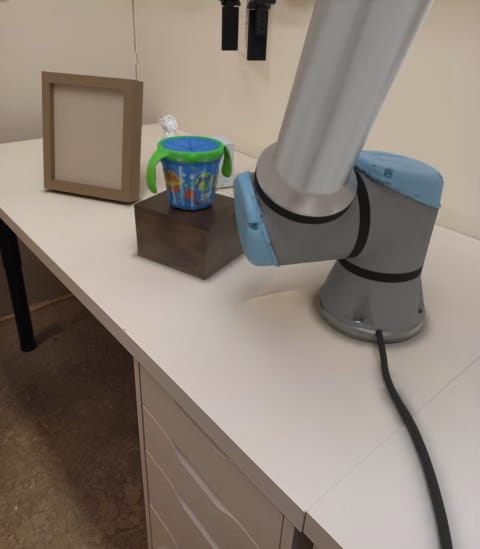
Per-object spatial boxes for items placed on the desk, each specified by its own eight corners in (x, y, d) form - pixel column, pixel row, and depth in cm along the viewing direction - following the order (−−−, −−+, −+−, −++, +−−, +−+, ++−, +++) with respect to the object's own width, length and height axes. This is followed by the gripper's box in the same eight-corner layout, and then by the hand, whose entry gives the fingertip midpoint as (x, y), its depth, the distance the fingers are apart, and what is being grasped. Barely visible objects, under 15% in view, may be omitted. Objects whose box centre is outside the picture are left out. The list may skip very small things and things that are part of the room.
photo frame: (129, 206, 102) (117, 83, 90) (44, 192, 108) (22, 74, 95) (160, 185, 114) (154, 73, 102) (83, 173, 120) (68, 66, 107)
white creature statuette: (173, 166, 127) (172, 120, 121) (148, 160, 131) (145, 115, 125) (194, 157, 134) (193, 114, 128) (169, 152, 138) (167, 109, 132)
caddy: (245, 250, 86) (247, 205, 82) (205, 280, 77) (205, 231, 73) (182, 230, 93) (180, 187, 88) (137, 255, 84) (133, 209, 79)
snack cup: (215, 186, 87) (215, 130, 82) (247, 205, 80) (250, 145, 75) (135, 201, 80) (130, 140, 75) (163, 224, 72) (159, 158, 67)
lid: (252, 207, 82) (252, 202, 81) (209, 232, 72) (209, 227, 72) (180, 187, 88) (180, 183, 88) (133, 208, 79) (133, 204, 79)
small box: (233, 187, 115) (234, 143, 110) (211, 189, 113) (211, 145, 108) (222, 176, 121) (223, 135, 116) (201, 178, 119) (201, 136, 114)
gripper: (312, -133, 55) (295, 65, 66) (244, -100, 75) (240, 47, 86) (251, -140, 53) (244, 65, 64) (198, -105, 73) (200, 46, 84)
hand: (241, 55), depth 75 cm, fingers open, 13 cm apart
